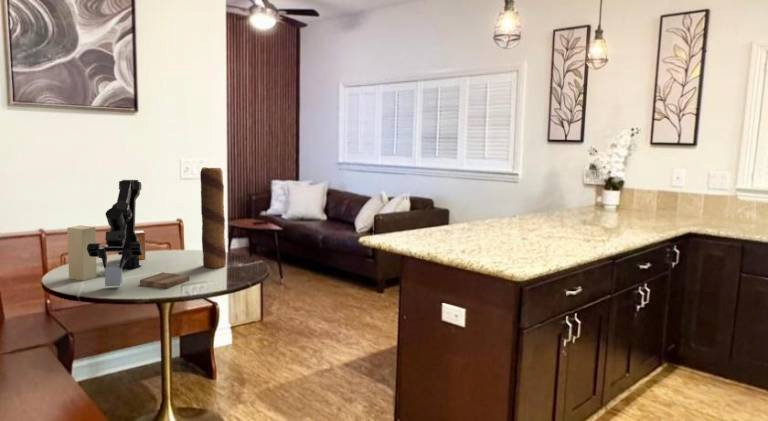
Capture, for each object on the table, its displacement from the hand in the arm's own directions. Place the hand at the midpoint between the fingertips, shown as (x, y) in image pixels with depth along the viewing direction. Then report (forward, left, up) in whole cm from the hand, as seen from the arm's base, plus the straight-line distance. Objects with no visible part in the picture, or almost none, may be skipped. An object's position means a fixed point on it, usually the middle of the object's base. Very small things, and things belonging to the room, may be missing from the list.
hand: (112, 268), depth 204 cm
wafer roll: (+12, +46, -8) cm, 49 cm away
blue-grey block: (-1, +1, -7) cm, 7 cm away
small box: (-29, +43, -8) cm, 53 cm away
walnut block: (+11, +15, -8) cm, 21 cm away
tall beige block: (-23, +8, -8) cm, 26 cm away
